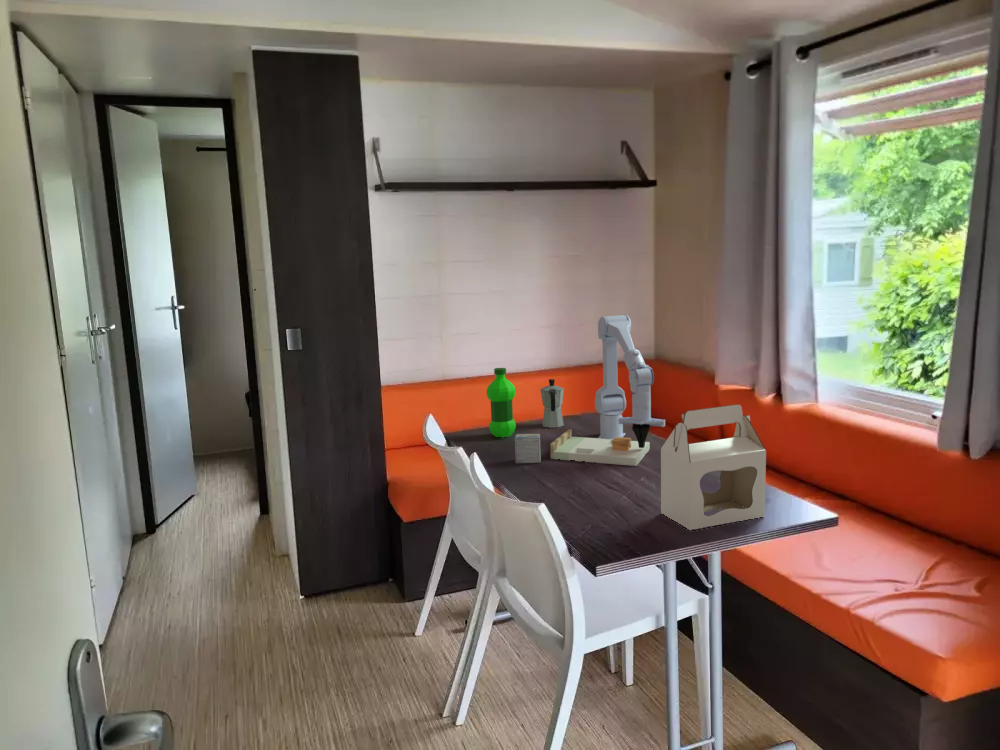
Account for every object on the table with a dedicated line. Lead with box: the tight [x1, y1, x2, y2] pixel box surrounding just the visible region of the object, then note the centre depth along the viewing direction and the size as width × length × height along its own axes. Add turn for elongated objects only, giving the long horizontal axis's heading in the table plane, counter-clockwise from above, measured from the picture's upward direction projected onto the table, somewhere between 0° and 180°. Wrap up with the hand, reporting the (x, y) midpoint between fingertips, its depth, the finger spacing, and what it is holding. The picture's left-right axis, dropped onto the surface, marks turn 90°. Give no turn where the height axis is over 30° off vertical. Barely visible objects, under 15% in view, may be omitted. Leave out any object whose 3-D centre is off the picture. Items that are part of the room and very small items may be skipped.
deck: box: [549, 429, 651, 467], centre depth 246 cm, size 19×28×5 cm
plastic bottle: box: [486, 367, 517, 438], centre depth 271 cm, size 10×10×25 cm
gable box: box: [660, 403, 767, 530], centre depth 188 cm, size 22×13×28 cm, turn 109°
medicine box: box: [514, 433, 542, 464], centre depth 241 cm, size 8×4×9 cm, turn 84°
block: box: [612, 436, 632, 451], centre depth 243 cm, size 5×5×3 cm
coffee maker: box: [540, 378, 565, 428], centre depth 283 cm, size 15×9×18 cm, turn 178°
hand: (641, 447), depth 241 cm, fingers closed
